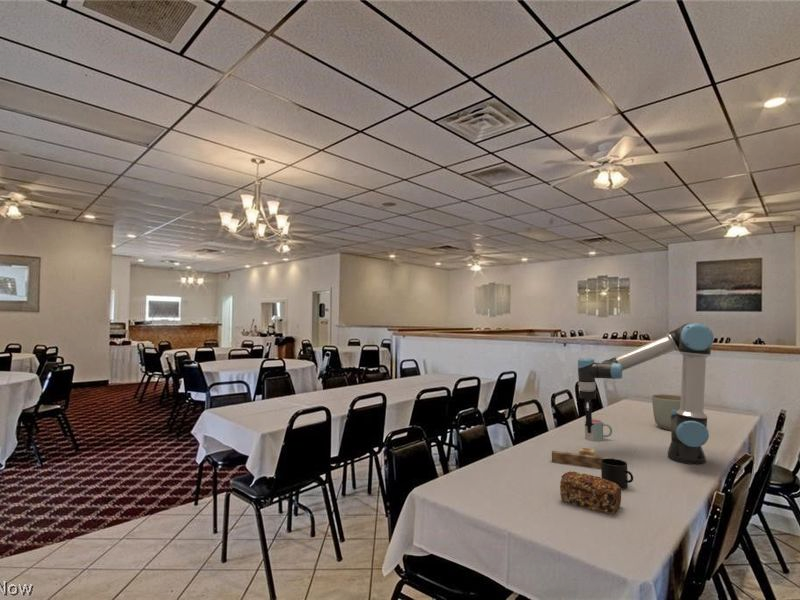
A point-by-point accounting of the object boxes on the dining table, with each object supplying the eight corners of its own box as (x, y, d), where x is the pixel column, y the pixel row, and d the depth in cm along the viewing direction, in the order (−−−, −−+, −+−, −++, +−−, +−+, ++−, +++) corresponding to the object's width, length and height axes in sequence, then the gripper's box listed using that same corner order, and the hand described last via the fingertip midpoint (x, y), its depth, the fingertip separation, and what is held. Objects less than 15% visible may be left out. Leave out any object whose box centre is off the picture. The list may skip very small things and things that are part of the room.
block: (594, 462, 201) (593, 449, 201) (593, 466, 196) (593, 452, 196) (580, 460, 204) (579, 447, 204) (579, 464, 198) (579, 450, 199)
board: (614, 468, 192) (613, 457, 192) (614, 470, 189) (614, 459, 190) (552, 460, 203) (552, 450, 204) (551, 462, 201) (551, 452, 201)
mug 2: (627, 493, 165) (627, 469, 165) (597, 484, 174) (596, 461, 174) (638, 487, 171) (638, 464, 171) (608, 478, 180) (608, 456, 180)
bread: (559, 502, 157) (559, 474, 158) (569, 493, 166) (568, 466, 166) (615, 517, 145) (614, 487, 146) (622, 506, 154) (622, 478, 154)
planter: (692, 427, 264) (692, 396, 265) (694, 435, 247) (693, 401, 248) (653, 423, 276) (652, 393, 276) (652, 430, 258) (651, 398, 259)
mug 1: (585, 440, 236) (585, 422, 237) (584, 436, 245) (584, 418, 245) (613, 443, 231) (612, 424, 231) (611, 438, 240) (611, 420, 240)
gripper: (579, 388, 219) (582, 435, 218) (578, 391, 207) (580, 441, 206) (595, 388, 216) (598, 436, 215) (595, 392, 204) (598, 443, 203)
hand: (589, 439), depth 210 cm, fingers closed
